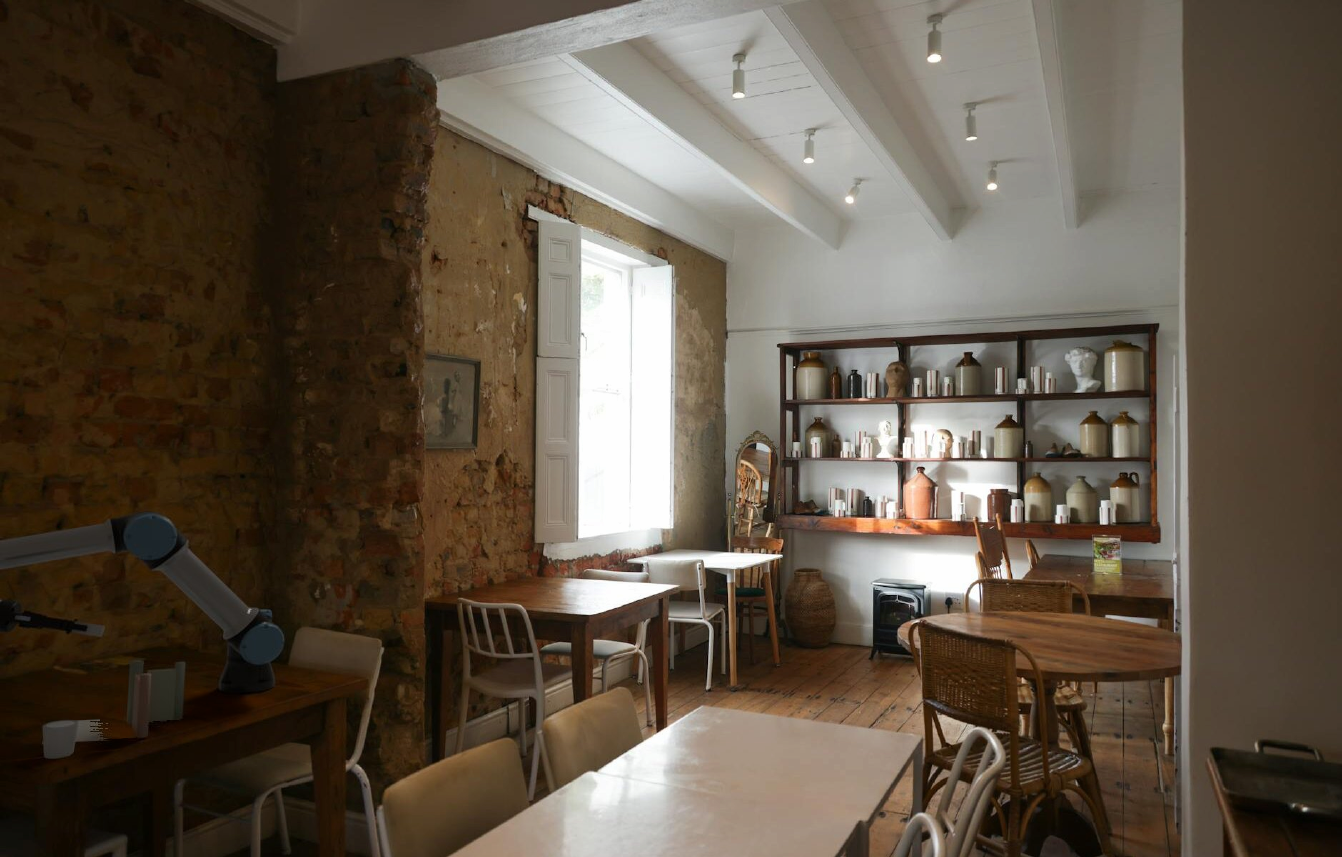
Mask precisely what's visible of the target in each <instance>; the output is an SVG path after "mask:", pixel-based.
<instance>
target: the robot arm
mask: <svg viewBox="0 0 1342 857" xmlns="http://www.w3.org/2000/svg"><path fill="white" fill-rule="evenodd" d="M102 552H103V553H104V552H111V553H112V554H116V553H122V552H130V553H131V554H132V555H133V556H135V557H136V558H137V559H138V560H140V561H141V562H142V564H144V565H145V566H146V567H147V568H148V569H149V570H150V571H153V572H155V571H160V572H161V573H163V574H164V576H166V577H167V578H168V579H169V581H171V582H172V583H173V584H174V585H175V586H177V588H178V589H180V591H182V592H183V593H184V594H185V595H186V596H187V597H188V598H189V599H190V600H191V601H192V602H193V603H195V605H197V607H198V608H199V609H201V610H202V611H203V613H205V614H206V615H207V616H208V617H209V618H210V619H211V620H213V622H214V623H215V624H216V625H218V627H220V628H221V629H222V630H223V634H222V635H223V636H222V638H223V640H225V641H226V642H227V649H226V650H227V652H226V654H227V655H226V663H225V665H224V668H223V671H222V673H221V676H220V679H219V682H218V690H219V691H220V692H223V693H227V694H240V695H241V694H250V693H251V694H253V693H259V692H263V691H267V690H270V689H272V688H275V685H276V684H275V682H276V681H275V680H276V678H275V674H274V670H273V667H272V663H271V662H272V661H273V660H275V659H276V658H277V657H279V655H280V654H281V653H282V651H283V649H284V644H285V636H284V633H283V630H282V629H281V628H280V627H279V626H278V625H277V624H275V623H274V622H273V619H274V618H273V613H272V610H270V609H268V608H267V609H260V608H258V607H250V606H248V605H247V604H246V603H245V602H244V601H242V599H241V598H240V597H238V596H237V594H236V593H235V592H233V590H231V589H230V587H229V586H227V585H226V584H225V583H224V582H223V581H222V580H221V579H220V578H219V577H218V576H217V575H216V574H215V573H214V572H213V571H212V570H211V569H210V568H209V567H208V566H207V565H206V564H205V563H204V562H203V561H202V560H201V559H200V558H199V557H197V555H195V554H194V553H193V551H191V549H190V548H189V539H188V538H187V537H186V536H185V535H184V534H183V533H182V532H181V531H179V529H178V528H177V527H176V526H175V524H174V523H173V522H172V521H171V520H170V519H169V518H168V517H166V516H164V515H162V514H160V513H159V512H155V511H151V510H143V511H142V510H141V511H137V512H135V513H131V514H130V513H129V514H128V515H123V516H119V517H112V518H107V520H106V521H105V522H104V523H99V524H98V523H97V524H94V525H88V526H81V527H75V528H69V529H63V530H56V531H49V532H44V533H38V534H34V535H27V536H26V535H25V536H21V537H14V538H7V539H2V540H0V570H5V569H6V570H7V569H11V568H17V567H23V566H29V565H34V564H40V563H45V562H51V561H56V560H63V559H68V558H73V557H74V558H75V557H79V556H84V555H91V554H98V553H102ZM22 608H23V607H22V604H21V603H20V602H18V601H13V600H6V599H3V600H2V599H1V598H0V633H11V632H12V631H13V630H14V629H15V628H16V625H18V627H19V628H24V629H38V630H43V629H48V630H56V631H63V632H65V634H66V635H70V633H74V634H80V635H86V636H93V637H99V638H100V637H102V636H103V633H104V631H105V628H106V626H105V625H102V624H95V623H90V622H83V621H79V619H78V618H74V620H71V619H70V620H69V619H63V618H56V617H50V616H47V615H46V614H42V613H36V612H34V611H30V610H23V611H22Z"/></svg>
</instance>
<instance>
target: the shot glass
mask: <svg viewBox="0 0 1342 857" xmlns="http://www.w3.org/2000/svg"><path fill="white" fill-rule="evenodd" d="M78 721H79V720H73V719H62V720H55V721H50V722H47V723H44V724H43V725H42V738H43V739H42V743H43V744H42V745H43V757H44V758H45V759H51V760H53V759H62V758H66V757H69V756H71V754H72V755H73V754H74V751H75V746H76V742H75V740H76V734H77V728H78Z"/></svg>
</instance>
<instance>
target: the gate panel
mask: <svg viewBox="0 0 1342 857" xmlns="http://www.w3.org/2000/svg"><path fill="white" fill-rule="evenodd" d="M150 689H151V674H150V673H143V674H136V675H135V683H134V701H133V718H132V728H133V730H134V731H135V733H136V737H137V739H144V738H147V737H149V726H148V724H149V707H150ZM149 725H150V724H149Z"/></svg>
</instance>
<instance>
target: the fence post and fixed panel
mask: <svg viewBox="0 0 1342 857" xmlns="http://www.w3.org/2000/svg"><path fill="white" fill-rule="evenodd" d="M144 661H145V660H142V659H141V660H140V659H139V660H132V661H129V672H128V673H129V675H128V692H127V693H128V694H127V706H126V707H127V711H126V718H127V724H132V718H133V701H134V683H135V675H136V674H144V665H145V662H144ZM146 672H147V673H150V674H151V689H150V707H149V722H151V723H154V722H153V721H160V722H168V721H167V720H171V721H172V720H173V719H176V720H177V719H182V720H183V711H184V698H185V697H184V695H185V692H184V691H185V677H186V676H185V675H186V661H177V662H174V668H163V669H162V668H161V669H151V670H150V669H148V670H147V671H146Z"/></svg>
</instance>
